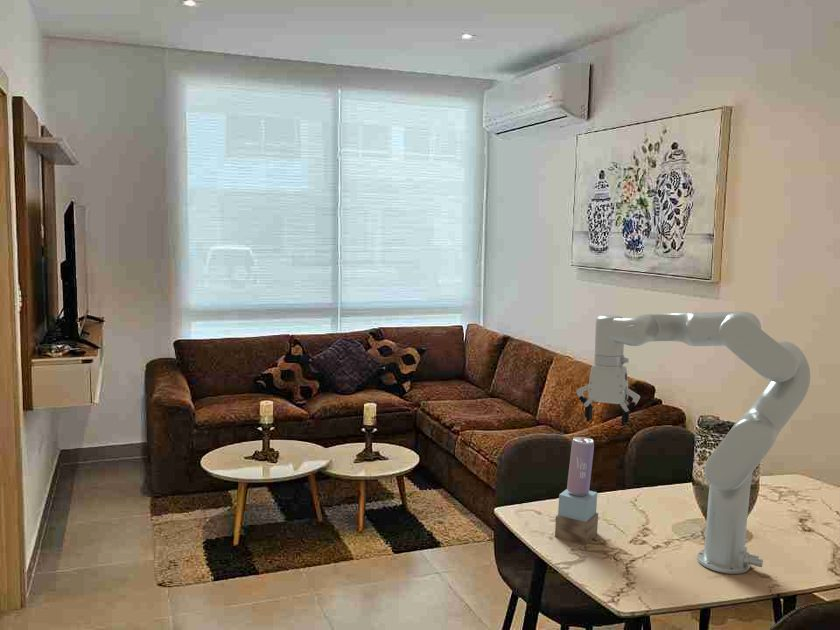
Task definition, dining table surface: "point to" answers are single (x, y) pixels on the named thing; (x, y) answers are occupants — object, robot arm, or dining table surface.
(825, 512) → the dining table surface
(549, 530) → the dining table surface
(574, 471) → the beverage can
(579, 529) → the base block
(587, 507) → the top block
